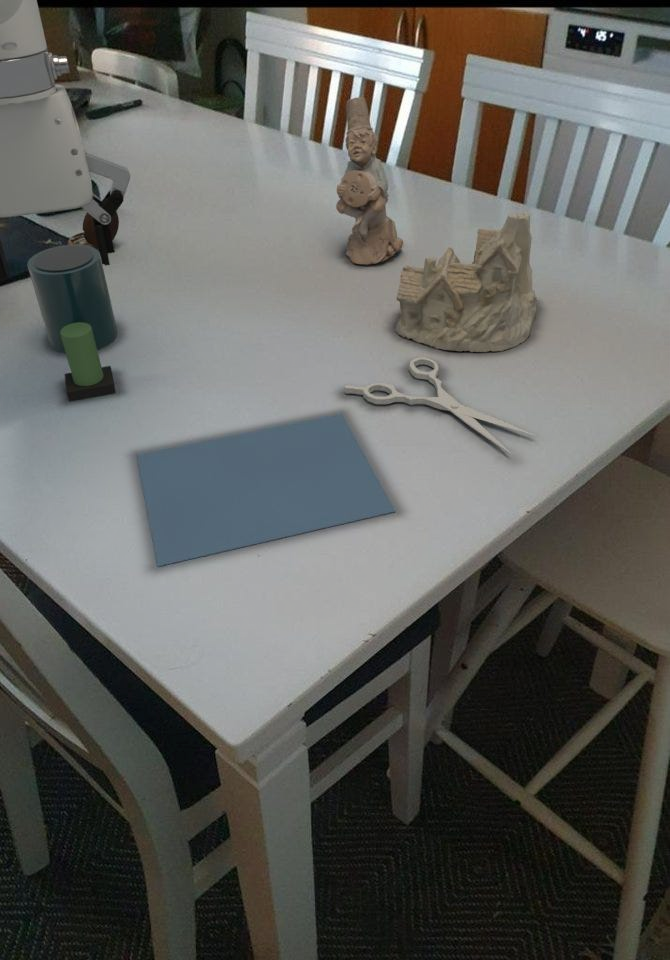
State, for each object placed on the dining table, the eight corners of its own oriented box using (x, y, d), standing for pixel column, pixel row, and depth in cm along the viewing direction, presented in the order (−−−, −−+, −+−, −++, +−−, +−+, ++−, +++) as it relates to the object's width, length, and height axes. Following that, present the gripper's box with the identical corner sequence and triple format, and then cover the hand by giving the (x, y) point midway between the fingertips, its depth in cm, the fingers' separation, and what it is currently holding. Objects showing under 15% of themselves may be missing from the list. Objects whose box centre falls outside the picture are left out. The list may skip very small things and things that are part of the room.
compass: (89, 235, 122) (78, 187, 117) (126, 246, 118) (116, 197, 114) (47, 255, 117) (34, 205, 112) (85, 267, 113) (72, 216, 109)
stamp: (68, 401, 87) (51, 342, 82) (67, 382, 90) (50, 324, 85) (115, 393, 88) (101, 334, 83) (112, 374, 91) (98, 316, 86)
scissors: (411, 349, 91) (560, 420, 80) (411, 355, 92) (559, 426, 80) (343, 386, 86) (492, 468, 74) (343, 392, 86) (492, 474, 75)
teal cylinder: (51, 359, 94) (27, 278, 87) (49, 327, 100) (26, 249, 93) (120, 347, 96) (102, 266, 89) (114, 316, 102) (96, 239, 95)
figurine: (352, 238, 118) (349, 90, 105) (408, 245, 115) (412, 94, 103) (331, 264, 111) (325, 109, 99) (390, 271, 109) (392, 114, 96)
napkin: (157, 567, 67) (157, 566, 67) (136, 455, 79) (136, 454, 79) (395, 512, 71) (395, 511, 71) (341, 414, 83) (341, 413, 83)
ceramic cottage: (550, 299, 101) (558, 179, 91) (511, 368, 90) (515, 239, 80) (432, 285, 107) (429, 171, 97) (383, 348, 96) (373, 226, 87)
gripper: (107, 58, 73) (140, 241, 84) (-97, 76, 70) (-36, 265, 80) (114, 76, 68) (148, 269, 78) (-108, 96, 64) (-40, 296, 75)
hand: (55, 267), depth 79 cm, fingers open, 9 cm apart
